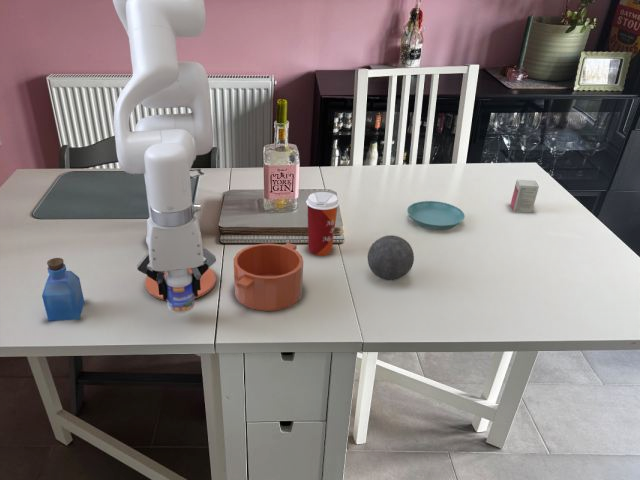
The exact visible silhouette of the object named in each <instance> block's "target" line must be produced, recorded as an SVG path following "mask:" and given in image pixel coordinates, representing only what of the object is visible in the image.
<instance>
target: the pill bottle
mask: <svg viewBox="0 0 640 480" xmlns="http://www.w3.org/2000/svg"><path fill="white" fill-rule="evenodd" d="M167 272H168V273H167V274H166V276H165V286H166V294H167V300H166V303H167V305H166V306H167V308H168V310H169V311H170V312H172V313H174V314H186V313H188V312H191V311H192V309H193V308H194V307H195V298H194V292H193V279H192V274H191V273H190V272H189V271H188V269H179V270H170V271H167Z"/></svg>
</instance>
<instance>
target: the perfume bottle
mask: <svg viewBox="0 0 640 480" xmlns="http://www.w3.org/2000/svg"><path fill="white" fill-rule="evenodd" d="M64 262H65V261H64V259H63V258H62V257H54V258H51V259H49V260H47V262H46V264H47V273H48V274H49V275H48V276H47V279H46V282H45V284H44V287H43V291H42V294H41V297H42V302H43V305H44V309H45V313H46V317H47V321H48V322H55V321H71V320H74V321H75V320H80V318H81V316H82V312H83V309H84V305H85V297H84V293H83V289H82V283H81V279H80V277H79V276H78V275H77V274H76V273H74V272H73V271H72V270H67V265H66V264H65V263H64Z"/></svg>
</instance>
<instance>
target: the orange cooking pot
mask: <svg viewBox="0 0 640 480" xmlns="http://www.w3.org/2000/svg"><path fill="white" fill-rule="evenodd" d="M297 247H298V246H297V244H293V243H290V242H286V243H285V244H278V243H258V244H252V245H250V246H247V247H244V248H242V249H241V250H239V251H238V252H237V253H236V254H235V256H234V257H233V278H234V279H233V280H234V281H233V282H234V283H233V284H234V295H235V298H236V300H237V301H238V302H239V303H240V304H242V305H243V306H245V307H247V308H249V309H251V310H252V309H253V310H255V311H264V312H272V311H280V310H285V309H288V308H290V307H292V306H294V305H296V303H298V302H299V300H300V299H301V297H302V293H303V281H304V280H303V279H304V278H303V277H304V259H303V256H302V255H301V253H300V252H299V251H298V250H297Z"/></svg>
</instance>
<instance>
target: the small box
mask: <svg viewBox="0 0 640 480" xmlns="http://www.w3.org/2000/svg"><path fill="white" fill-rule="evenodd" d="M539 188H540V186H539V184H538V182H537V181H536V180H533V179H516V180H515V185H514V188H513V193H512V197H511V201H510V205H509V206H510V208H511V210H512V212H513V213H514V212H515V213H516V212H517V213H533V211H534V206H535V203H536V199H537V195H538V192H539Z"/></svg>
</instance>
